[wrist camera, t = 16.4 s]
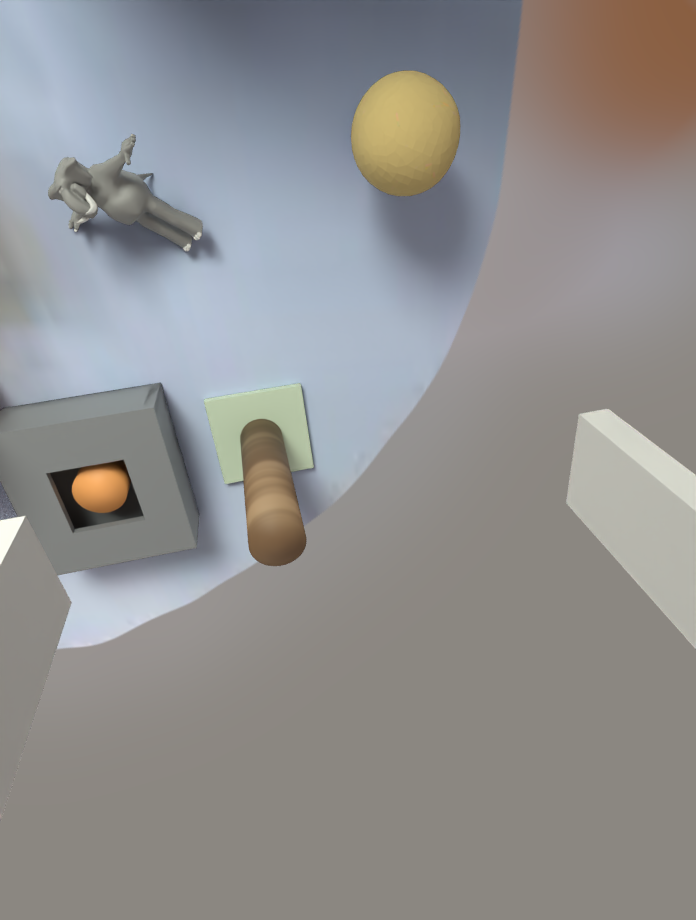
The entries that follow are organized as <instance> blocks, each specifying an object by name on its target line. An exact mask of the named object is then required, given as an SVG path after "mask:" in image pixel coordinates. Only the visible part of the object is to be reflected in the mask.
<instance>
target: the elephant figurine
mask: <svg viewBox="0 0 696 920" xmlns="http://www.w3.org/2000/svg"><path fill="white" fill-rule="evenodd" d="M135 138H136V137H135V135H134V134H131V137H129V138H128V139H126V140H124V141H123V142H122V145H121V151H120V152H119V154H118V155H116V156H115V157H113V158H111V159H109V160H107V161H105V162H104V163H100V164H95V165H92V166H91V167H90V168H86V167H85V166H83V165H82V164H80V163H79V162H77V161H76V159H75V158H74V157H73V158H69V157H66V158H63V159H62V160H61V162H60V163H59V165H58V167H57V170H56V172H55V177H54V183H53V184H52V185H51V186H50V188H49V190H48V196H49V198H50V199H51V200H54V199H58V200H62V201H64V202H65V203H66V204H67V205H68V206H69V208H71V209H72V210H73V213H72V217H71V220H70V221H69V222H70V223H69V228H70V229H72V228H73V226H74V231H75V232H77V231H78V229H79V226H80V224H81V223H84V222H86V221H88V220H89V219H90V218H92V219H93V218H94V217H95V216H96V215H97V211H98V207H99V208H101V209H102V210H104V211H105V212H106V213H107V214H108V216H110V217H111V218H112V219H114V220H116V221H118V222H121V223H124V224H127V225H132V224H133V223H134V222H135V221H137V222H139V223H140V224H141V225H142V226H144V227H146V228H148V229H150V230H151V231H153V232H155V233H157V234H159V235H161V236H163V237H165V238H167V239H169V240H170V241H172V242H174V243H175V244H177V245H179V246H180V247H182V248H183V249H184V250H185V251H189V249H190V248H191V244H192V236H193V238H194V239H195V240H199V239H200V237H201V235H202V228H203V225H202V221H201V220H200V219H198V218H196V217H193V216H191V215H189V214H186V213H184V212H181V211H179V210H177V209H174V208H173V207H171V206H170V205H168V204H167V203H165V202H164V201H162V200H160V199H158V198H157V197H155V196H153V195H152V194H151V192H150V190H149V189H148V187H147V185H146V184H145V182H144V181H143V180H144V179H146V178H147V177H149V176H151V175H153V173H149V174H140V175H136V174H134V173H131V172H127V171H124V170H122V168H123V165H124V163H125V162H126V163H127V165H130V164H131V161H130V157H131V155H132V150H133V147H134V145H135V144H134V143H135V141H136V139H135Z"/></svg>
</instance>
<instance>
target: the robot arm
mask: <svg viewBox="0 0 696 920" xmlns="http://www.w3.org/2000/svg"><path fill="white" fill-rule="evenodd" d="M566 503H567V505H569V507H570V508H571V509H572V510H573V511H574V512H575V514H576V515H577V516H578V517H579V518H580V519H581V520H582V521H583V523H584V524H585V525H586V526H587V527H588V528H589V529H590V531H591V532H592V533H593V534H594V535H595V536H596V537H597V538H598V539H599V541H600V542H601V543H602V544H603V545H604V546H605V547H606V549H607V550H608V551H609V552H610V553H611V554H612V555H613V556H614V558H615V559H616V560H617V561H618V562H619V563H620V564H621V565H622V566H623V568H624V569H625V570H626V571H627V572H628V573H629V574H630V576H631V577H632V578H633V579H634V580H635V581H636V582H637V584H638V585H639V586H640V587H641V588H642V589H643V590H644V591H645V593H646V594H647V595H648V596H649V597H650V598H651V599H652V600H653V602H654V603H655V604H656V605H657V606H658V607H659V608H660V609H661V611H662V612H663V613H664V614H665V615H666V616H667V617H668V619H670V621H671V622H672V623H673V624H674V625H675V626H676V628H677V629H678V630H679V631H680V632H681V633H682V634H683V635H684V637H685V638H686V639H687V640H688V641H689V642H690V643H691V644H692V646H693V647H694V648H695V649H696V475H695V474H694V473H692V472H691V471H690V470H688V469H687V468H686V467H684V466H683V465H682V464H680V463H679V462H678V461H676V460H675V459H674V458H672V457H671V456H670V455H669V454H667V453H666V452H665V451H663V450H662V449H660V448H659V447H658V446H656V445H655V444H654V443H653V442H651V441H650V440H649V439H647V438H646V437H645V436H643V435H642V434H641V433H639V432H638V431H637V430H635V429H634V428H633V427H631V426H630V425H629V424H627V423H626V422H625V421H624V420H622V419H621V418H619V417H618V416H617V415H615V414H614V413H613V412H612V411H610V410H609V409H604V410H598V411H593V412H587V413H582V414H579V417H578V424H577V432H576V438H575V445H574V453H573V459H572V466H571V472H570V479H569V486H568V494H567V500H566ZM70 606H71V601H70V599H69V597H68V595H67V593H66V591H65V589H64V587H63V585H62V584H61V582H60V580H59V578H58V576H57V574H56V572H55V570H54V568H53V567H52V565H51V563H50V561H49V559H48V557H47V555H46V553H45V551H44V550H43V548H42V546H41V544H40V542H39V540H38V538H37V536H36V534H35V532H34V531H33V529H32V527H31V525H30V523H29V521H28V519H27V517H26V516H22V517H16V518H11V519H5V520H0V821H1V818H2V815H3V812H4V809H5V806H6V803H7V800H8V797H9V794H10V790H11V787H12V784H13V781H14V778H15V775H16V772H17V769H18V765H19V763H20V759H21V757H22V753H23V750H24V747H25V744H26V741H27V738H28V735H29V732H30V729H31V726H32V723H33V720H34V717H35V713H36V710H37V707H38V704H39V701H40V698H41V695H42V692H43V689H44V685H45V682H46V680H47V676H48V673H49V670H50V667H51V664H52V661H53V657H54V655H55V652H56V649H57V646H58V643H59V640H60V636H61V633H62V630H63V627H64V624H65V621H66V618H67V615H68V612H69V609H70Z"/></svg>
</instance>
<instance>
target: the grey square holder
mask: <svg viewBox="0 0 696 920" xmlns="http://www.w3.org/2000/svg"><path fill="white" fill-rule="evenodd" d="M119 460H124V462H125V465H126V467H127V470H128V473H129V476H130V479H131V484H130V487H129V491H128V494H127V498H126V500H125V502H124V504H123V505H122V506H121V507H120V508H118V509H116V510H114V511H112V512H107V513H97V512H92V511H89V510H87V509H85V508H83V507H82V506H80V505H79V504H78V503H77V502H76V500H75V499H74V497H73V494H72V485H73V482H74V480H75V478H76V476H77V474H78V471H79V469H80V467H85V466H91V465H97V464H102V463H108V462H114V461H119ZM0 482H1V484H2V486H3V488H4V490H5V492H6V494H7V496H8V498H9V500H10V502H11V504H12V506H13V508H14V510H15V512H16V514H17V516H18V517H22V516H26V517H27V519H28V521H29V523H30V525H31V527H32V529H33V531H34V532H35V534H36V536H37V538H38V540H39V542H40V544H41V546H42V548H43V550H44V551H45V553H46V555H47V557H48V559H49V561H50V563H51V565H52V567H53V568H54V570H55V572H56V574H57V575H62V574H67V573H72V572H77V571H82V570H87V569H92V568H97V567H102V566H107V565H112V564H117V563H122V562H127V561H132V560H137V559H143V558H148V557H153V556H158V555H163V554H168V553H173V552H178V551H183V550H188V549H193V548H197V537H198V524H199V512H198V508H197V505H196V501H195V498H194V495H193V491H192V488H191V484H190V481H189V478H188V474H187V471H186V467H185V464H184V461H183V457H182V454H181V450H180V447H179V443H178V440H177V437H176V433H175V430H174V426H173V423H172V420H171V416H170V413H169V409H168V406H167V403H166V399H165V396H164V392H163V389H162V386H161V383H155V384H149V385H143V386H137V387H131V388H125V389H118V390H112V391H106V392H100V393H94V394H88V395H82V396H75V397H69V398H63V399H57V400H51V401H45V402H39V403H33V404H26V405H20V406H14V407H8V408H3V409H2V410H1V411H0Z"/></svg>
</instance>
